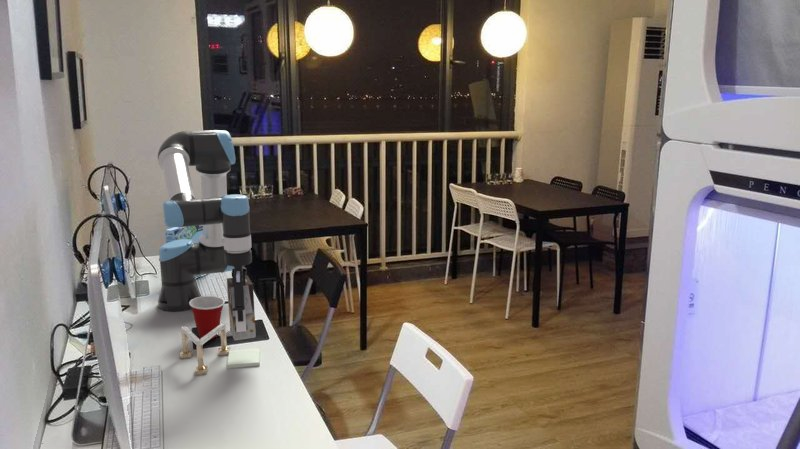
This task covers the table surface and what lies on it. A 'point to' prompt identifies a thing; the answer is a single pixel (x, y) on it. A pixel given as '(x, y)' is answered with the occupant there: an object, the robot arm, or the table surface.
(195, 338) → the three-legged tripod stand
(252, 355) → the end plate
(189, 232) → the gum box
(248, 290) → the coffee box
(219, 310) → the plastic cup
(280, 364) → the table surface
